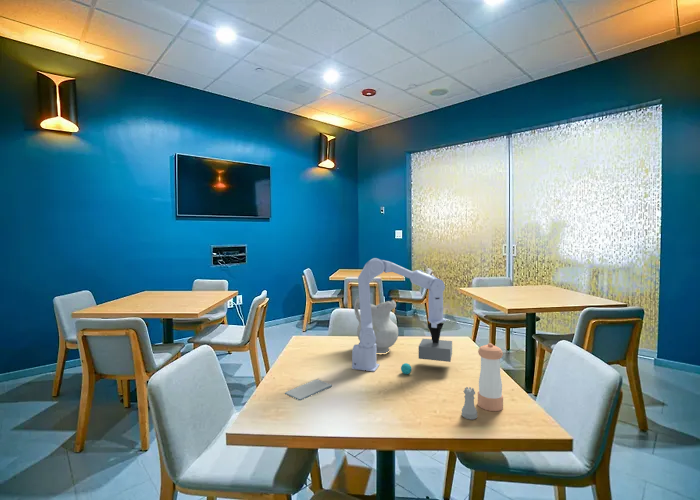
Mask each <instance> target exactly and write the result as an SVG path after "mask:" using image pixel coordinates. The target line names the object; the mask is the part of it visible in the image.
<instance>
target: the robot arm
mask: <svg viewBox="0 0 700 500" xmlns="http://www.w3.org/2000/svg"><path fill="white" fill-rule="evenodd" d="M383 273H395V274H397V275H399V276H402V277H404V278H407V279H409V281H410V282H411V284H414V285H415V286H418V287H421V288H422V289H426V290H427V289H428V317H427V321H428V324H427V329H429V332H430V336H431V337H430V338H431V339H432V342H433V343H438V341H439V340H440V338H441V332H442V329H443V327H444V322H445V323H446V322H447V319H446V318H444V291H445V289H446V285H445V283H444V280H442V279H440V278H437V277H436V276H435V275H434V274H428V273H426V272H424V270H422V269H416V270H413V271H412V270H410V269H407V268H405V267H403V266H401V265H398V264H396V263H394V262H392V261H389V260H385V259H380V258H377V257H373V258H371V259H370V260H368V261H367V262H366V263H365V264H364V266H363V268H362V270H361V271H360V273H359V275H358V276H357V283H358V284H357V286H358V297H359V301H360V304H359V313H360V315H361V330H360V333H359V335H360V341H359V342H358V344H357V343H355V344H354V345H353V347H352V350H351V351H352V353H351V357H352V358H351V359H352V360H351V369H352V370H358V371H365V370H366V372H376V370H377V369H378V368H379V366H380V363H377V354H376V343H375V342H376V337H375V333H374V330H373V326H372V314H371V304H372V302H371V288H370V283H371V282H372V281H373V280H374V279H375V278H376V277H378V276H380V275H382V274H383Z"/></svg>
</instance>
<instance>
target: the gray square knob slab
mask: <svg viewBox="0 0 700 500" xmlns="http://www.w3.org/2000/svg"><path fill="white" fill-rule="evenodd" d="M452 355H453V340H443V339H442V340H441V339H439V341H438V343H433V342H432V338H431V339H430V338H422V339H421V341H420V343H419V345H418V359H420V360H428V361H436V362H437V361H438V362H448V363H451V361H452V357H453V356H452Z"/></svg>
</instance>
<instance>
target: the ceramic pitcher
mask: <svg viewBox="0 0 700 500" xmlns="http://www.w3.org/2000/svg"><path fill="white" fill-rule="evenodd" d="M359 307H360V301H359V296H357V298H356V299H355V301H354V308H353V311H354V315H355V318H356V320H357V322H358V325H357V331H356V333H357V337H358V341H359V342H360V335H359V333H360V330H361V315H360V310H359ZM396 307H397V303H396V301H395V300H394V299H391V300H387V301H385V302H384V301H382V302H380V303H378V304H376V305H375V304H373V303H371V314H372V326H373V330H374V333H375V337H376V342H375V343H376V353H386V352H388V351H389V350H390V348H391V347H392V346H394V345H395V343H396V342H397V341H398V338H399V327H398V326H397V324H396V323H395V322H393V320H392V319H391V318H390V317H391V316H390V315H391V311H393V309H396ZM389 352H390V351H389Z"/></svg>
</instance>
